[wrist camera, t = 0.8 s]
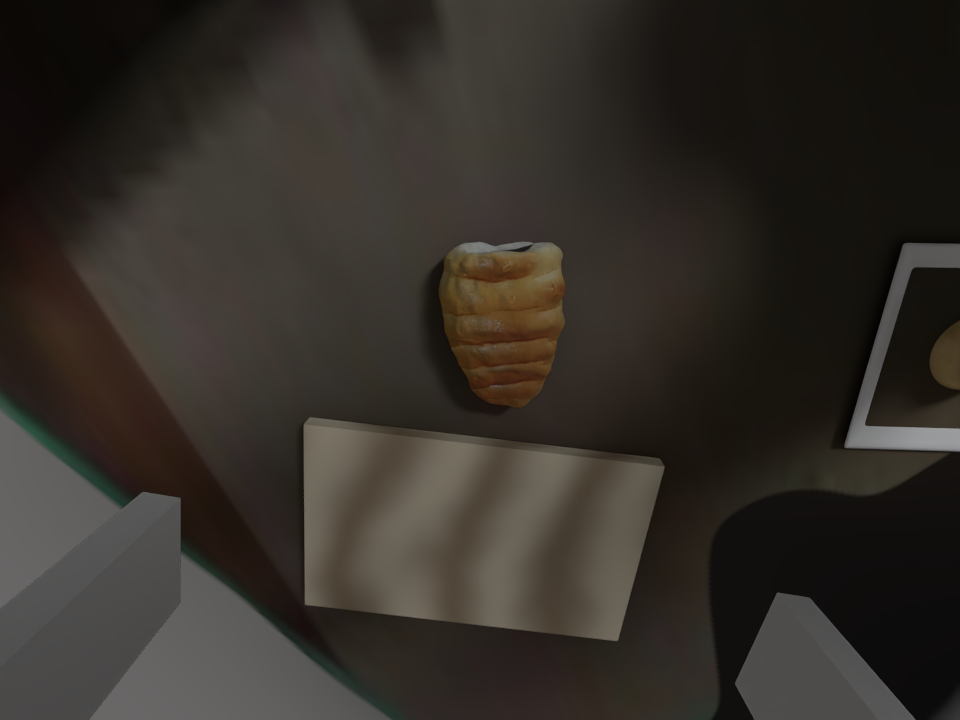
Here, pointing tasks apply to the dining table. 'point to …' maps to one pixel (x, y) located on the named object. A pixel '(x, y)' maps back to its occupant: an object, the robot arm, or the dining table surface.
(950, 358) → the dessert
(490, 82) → the dining table surface
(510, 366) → the pastry
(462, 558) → the serving board
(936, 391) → the dining table surface
